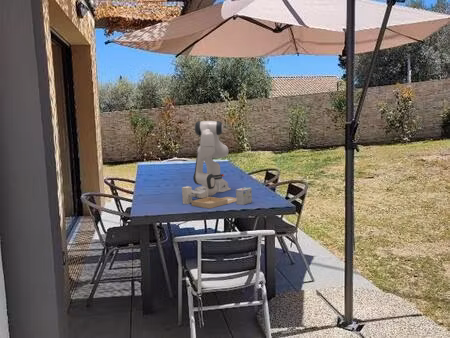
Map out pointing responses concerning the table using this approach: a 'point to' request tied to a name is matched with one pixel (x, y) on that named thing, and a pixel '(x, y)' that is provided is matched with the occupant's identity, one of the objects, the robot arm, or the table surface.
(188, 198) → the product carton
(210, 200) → the tray
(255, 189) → the table surface
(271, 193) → the table surface
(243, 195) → the light bulb box
